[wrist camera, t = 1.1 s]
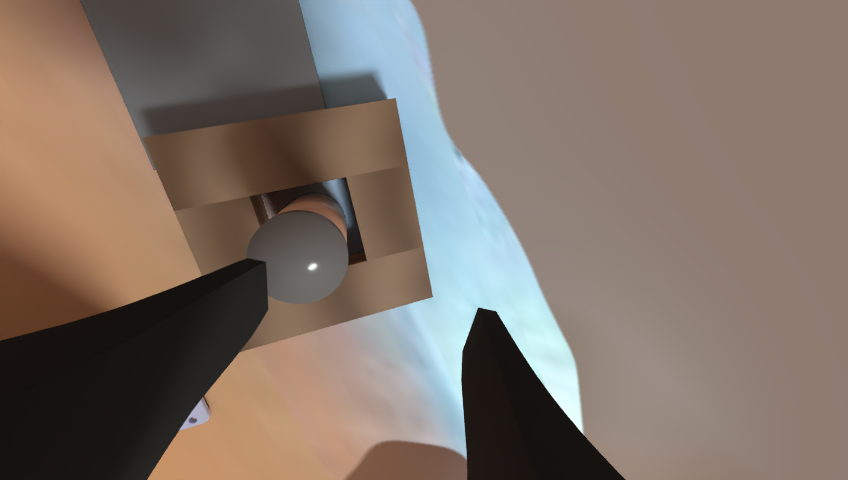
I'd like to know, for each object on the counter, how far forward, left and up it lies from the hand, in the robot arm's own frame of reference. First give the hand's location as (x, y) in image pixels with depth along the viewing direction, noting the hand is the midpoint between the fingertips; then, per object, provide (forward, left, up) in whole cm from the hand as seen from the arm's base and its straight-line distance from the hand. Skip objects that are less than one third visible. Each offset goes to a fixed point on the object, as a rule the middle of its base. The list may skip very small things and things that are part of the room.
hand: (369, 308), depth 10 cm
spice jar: (-2, +1, -12) cm, 12 cm away
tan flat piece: (-2, +1, -12) cm, 12 cm away
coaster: (-5, +11, -12) cm, 17 cm away
